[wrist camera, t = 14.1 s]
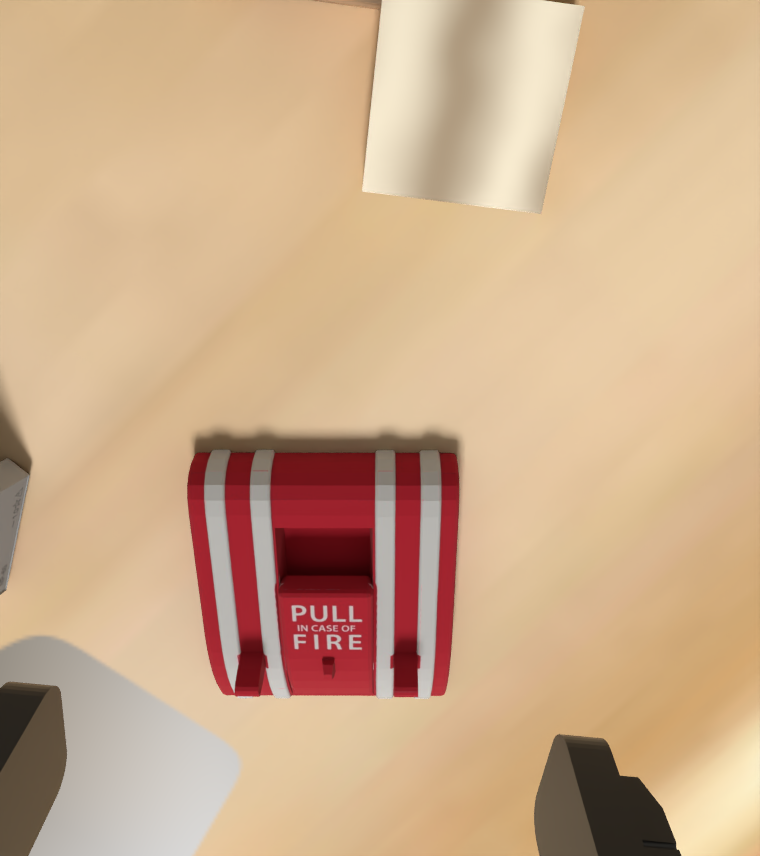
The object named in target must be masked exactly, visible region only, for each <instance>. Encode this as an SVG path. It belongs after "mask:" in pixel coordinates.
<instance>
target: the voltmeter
mask: <svg viewBox="0 0 760 856" xmlns="http://www.w3.org/2000/svg"><path fill="white" fill-rule="evenodd" d="M28 480H29V474H28V473H26V472H25V471H24V470H23V469H21V468H20V467H19V466H17V465H16V464H15V463H14V462H12V461H11V460H10V459H8V458H7V459H5V460H3V461H1V462H0V595H1V594H2V593H3V592H4V591H6V588H7V583H8V578H9V574H10V569H11V564H12V559H13V554H14V549H15V544H16V539H17V534H18V529H19V524H20V520H21V515H22V510H23V505H24V500H25V495H26V490H27V485H28Z"/></svg>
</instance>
